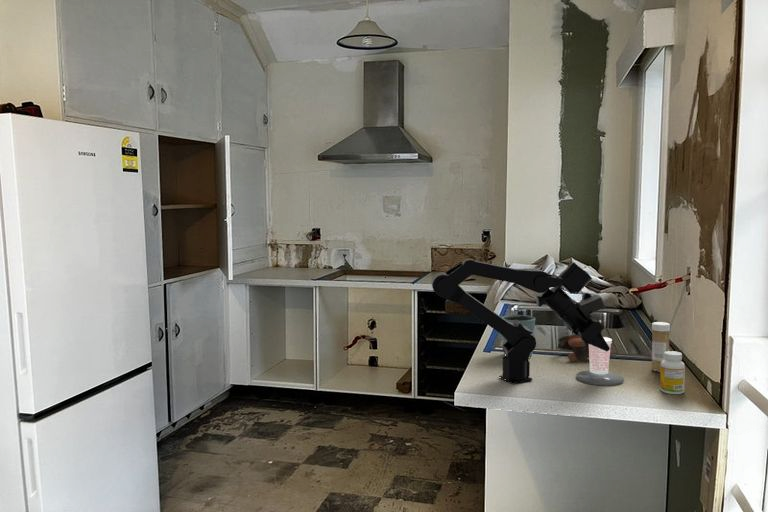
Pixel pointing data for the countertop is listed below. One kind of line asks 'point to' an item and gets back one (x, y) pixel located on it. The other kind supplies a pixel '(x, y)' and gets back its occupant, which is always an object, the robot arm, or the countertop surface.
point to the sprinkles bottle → (659, 343)
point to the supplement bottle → (672, 373)
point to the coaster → (600, 378)
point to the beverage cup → (599, 358)
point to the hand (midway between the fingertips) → (604, 347)
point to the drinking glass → (523, 320)
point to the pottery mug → (575, 347)
